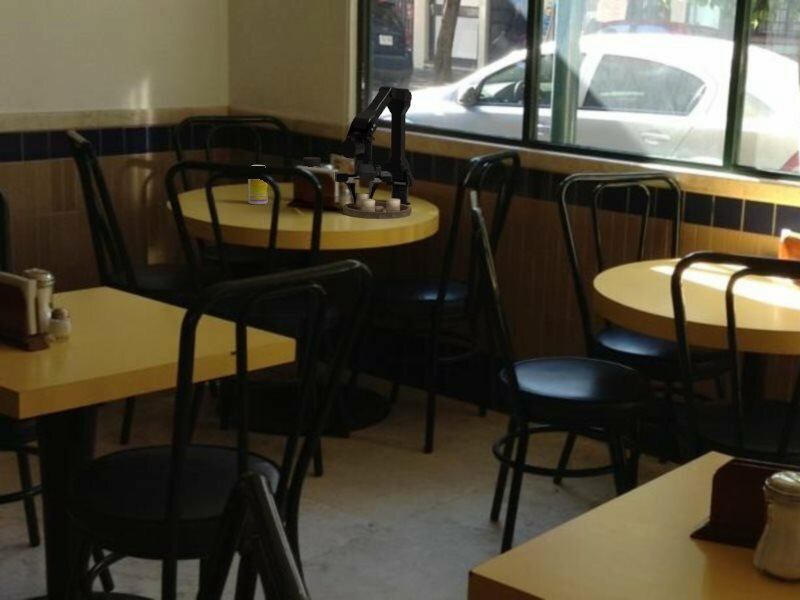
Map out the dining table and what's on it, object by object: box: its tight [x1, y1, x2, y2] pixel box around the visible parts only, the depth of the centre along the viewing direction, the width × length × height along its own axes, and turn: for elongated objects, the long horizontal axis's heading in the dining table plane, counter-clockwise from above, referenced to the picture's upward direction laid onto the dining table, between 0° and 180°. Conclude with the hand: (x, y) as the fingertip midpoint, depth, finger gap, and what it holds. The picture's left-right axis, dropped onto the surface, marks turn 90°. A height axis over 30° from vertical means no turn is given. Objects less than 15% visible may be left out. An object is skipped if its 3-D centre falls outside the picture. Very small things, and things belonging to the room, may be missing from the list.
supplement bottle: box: [247, 164, 269, 206], centre depth 437 cm, size 7×7×13 cm
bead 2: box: [386, 198, 400, 212], centre depth 418 cm, size 4×4×5 cm
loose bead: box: [355, 192, 369, 210], centre depth 424 cm, size 4×4×5 cm
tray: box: [342, 201, 413, 220], centre depth 422 cm, size 22×22×3 cm
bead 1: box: [361, 198, 376, 212], centre depth 416 cm, size 4×4×5 cm
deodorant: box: [302, 156, 322, 167], centre depth 444 cm, size 6×6×15 cm
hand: (362, 202), depth 424 cm, fingers open, 5 cm apart
